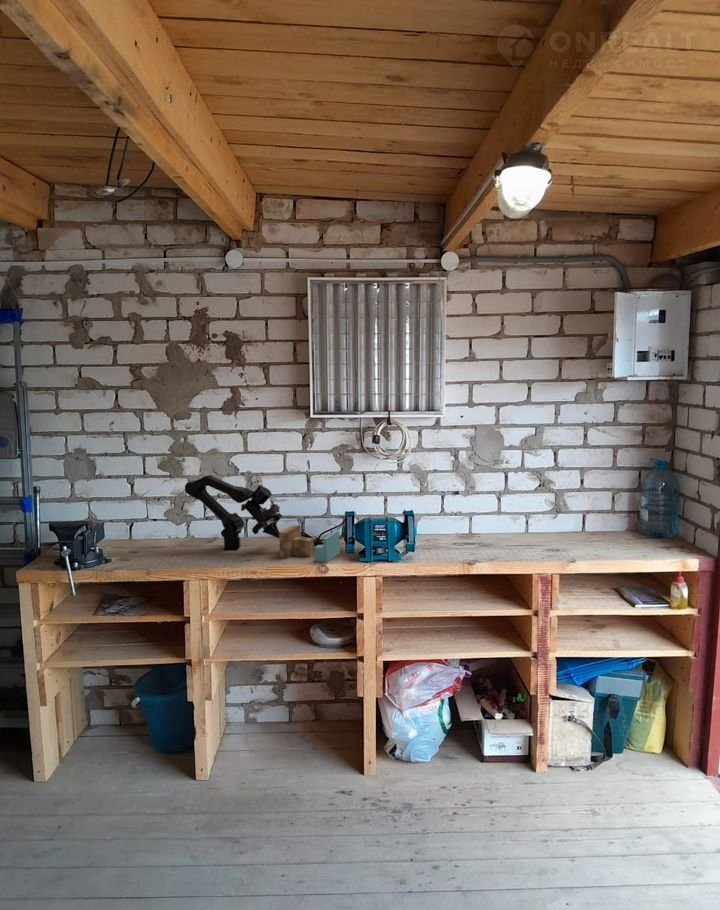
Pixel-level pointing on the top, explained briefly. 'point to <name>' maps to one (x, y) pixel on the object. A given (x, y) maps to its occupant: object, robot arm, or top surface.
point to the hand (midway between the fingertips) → (280, 537)
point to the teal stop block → (328, 548)
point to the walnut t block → (295, 543)
